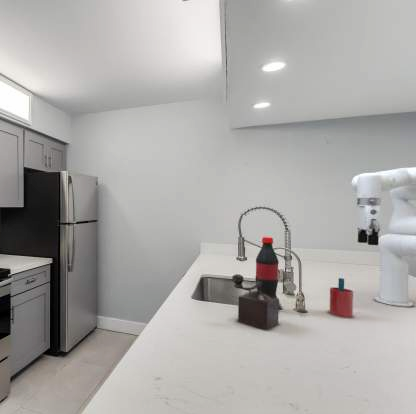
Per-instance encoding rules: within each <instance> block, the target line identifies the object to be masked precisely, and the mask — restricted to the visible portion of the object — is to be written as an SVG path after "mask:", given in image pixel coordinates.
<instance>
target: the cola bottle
mask: <svg viewBox="0 0 416 414" xmlns="http://www.w3.org/2000/svg"><path fill="white" fill-rule="evenodd" d="M273 239H274V238H273V237H270V236H263V237H262V239H261V243H262V246H261V248H260V250H259V252H258V253H257V256H256V259H255V285H256V284H257V281H258V280H257V279H258V278H261V286H260V291H261V292H262V293H264V294H266V295H267V296H269V297H274V298H278V297H277V290H278V289H277V288H278V286H279V263H280V261H279V259H278V256H277V254H276V252H275V249H274V247H273V244H274V240H273ZM257 290H258V287H257V288H256V291H257Z"/></svg>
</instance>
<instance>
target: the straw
mask: <svg viewBox="0 0 416 414" xmlns="http://www.w3.org/2000/svg"><path fill="white" fill-rule="evenodd" d="M337 284H338V286H337V288H338V291H343V292H344V289H345V278H343V277H339V278H338V283H337Z"/></svg>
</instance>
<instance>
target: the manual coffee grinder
mask: <svg viewBox="0 0 416 414" xmlns="http://www.w3.org/2000/svg"><path fill="white" fill-rule="evenodd" d="M257 280H258V281H257V284H256V283H255V285H254V286H251V287H244V285H243V282H244V281H245V279H244V276H243V275H242V274H237V273H236V274H233V275H232V277H231V281H232V282H233V283H234V288H235V289H239V290H243V291H248V292H245V293H244V294H242V295H238V304H237V305H238V306H237V307H238V308H237V311H238V312H237V322H238V323H241V324H244V325H246V326H250V327H253V328H256V329H259V330H264V331H268V330H271V329H273V328H274V327H276V326H278V325H279V311H280V309H279V307H280V306H279V305H280V302H279V301H280V299H279V298H278V297H277V298H274V297H269V296H267V295H266V294H264V293H262V292H261V291H260V286H261V278H258V279H257ZM257 287H258V290H257ZM255 289H256V290H255ZM253 290H254V291H253Z"/></svg>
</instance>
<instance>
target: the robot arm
mask: <svg viewBox="0 0 416 414" xmlns="http://www.w3.org/2000/svg"><path fill="white" fill-rule="evenodd" d="M351 188H352V190H353V191H355V192H356V207H358V208H357V209H358V210H357V243H359V244H367V245H368V246H378V251H379V259H380V260H379V261H380V262H379V263H380V267H379V271H380V272H379V296H375V297H374V300H375V301H376V302H378V303H381V304H385V305H389V306H390V305H391V306H397V307H407V308H409V307H413V306H414V303H413V302H412V301H409V276H410V275H409V272H410V267H409V263H408V262H407V260H406V259H404V257H408V258H409V257H410V258H416V206H415V205H414V204H413V203H411V202H409V201H416V166H411V167H401V168H400V167H399V168H394V169H389V170H388V169H387V170H382V171H375V172H364V173H360V174H357V175H355V176H354V177H353V178H352V179H351ZM382 192H389V198H390V201H391V204H392V207H393V212H392V215H391V218H390V221H389V224H388V232H389V233H387V234H383V235H380V233H379V232H380V231H381V230H382V212H381V206H382V205H381V204H382V203H381V201H382V199H381V198H382ZM379 236H380V237H379Z"/></svg>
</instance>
